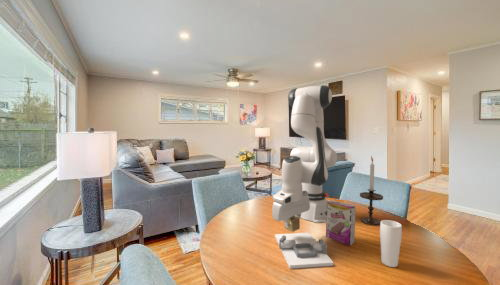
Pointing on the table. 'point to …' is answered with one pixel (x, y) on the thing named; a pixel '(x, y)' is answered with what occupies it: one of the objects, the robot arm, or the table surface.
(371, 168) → the candlestick
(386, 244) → the white cup
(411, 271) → the table surface
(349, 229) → the candy bar box
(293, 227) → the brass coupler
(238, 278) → the table surface
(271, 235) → the table surface
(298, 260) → the shaft bench
